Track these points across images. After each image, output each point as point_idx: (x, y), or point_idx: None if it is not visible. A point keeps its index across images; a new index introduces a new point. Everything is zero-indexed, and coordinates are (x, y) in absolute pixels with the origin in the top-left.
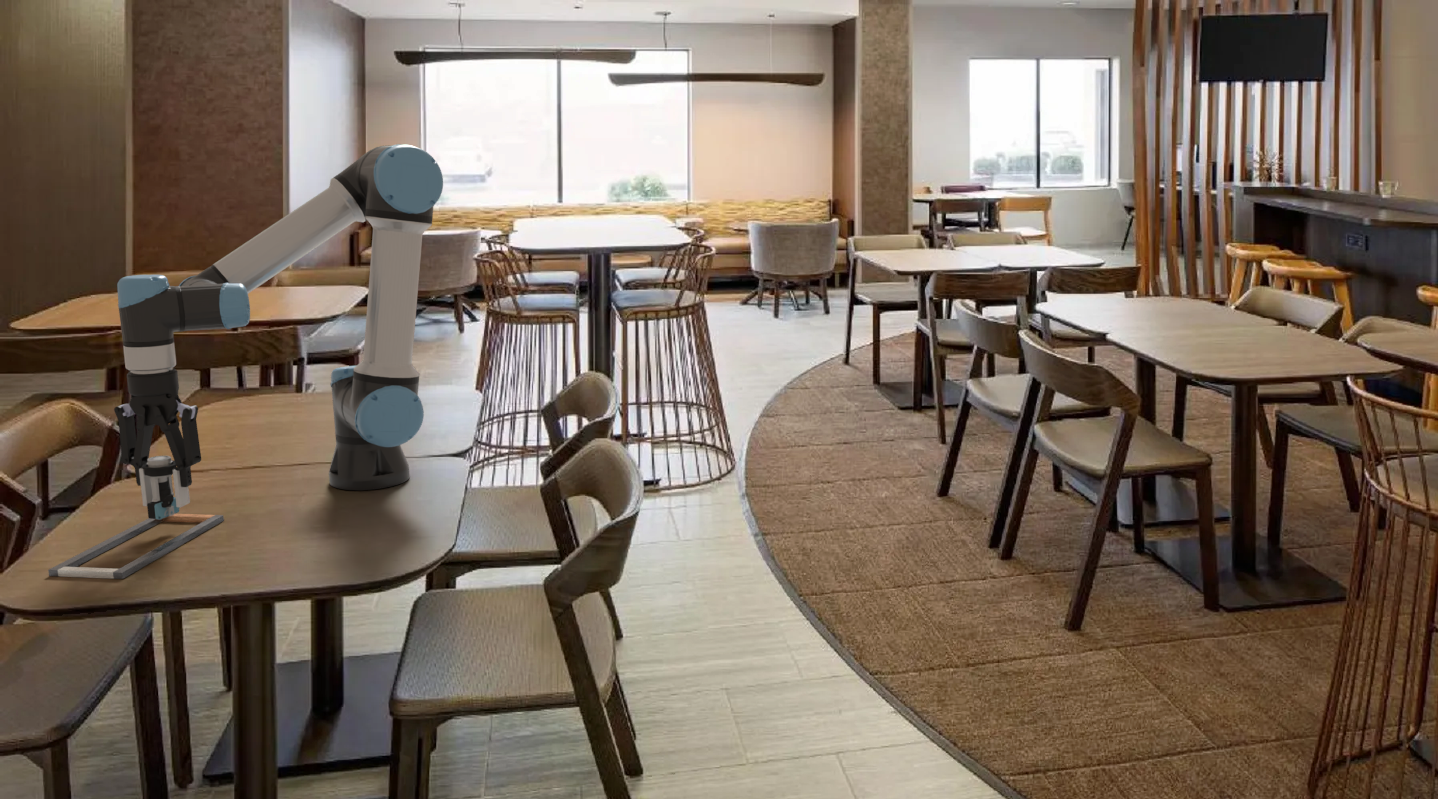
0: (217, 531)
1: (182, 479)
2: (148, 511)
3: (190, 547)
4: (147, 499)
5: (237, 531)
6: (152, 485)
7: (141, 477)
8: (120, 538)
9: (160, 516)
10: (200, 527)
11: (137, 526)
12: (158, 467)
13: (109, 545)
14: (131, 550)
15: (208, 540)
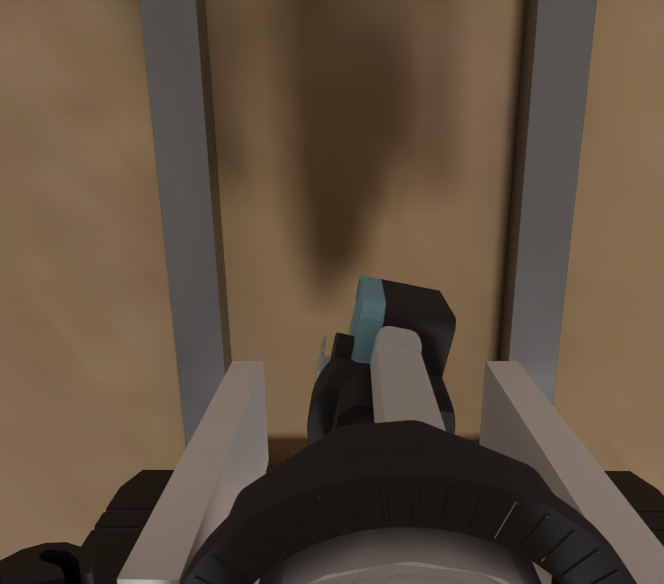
0: (130, 366)
1: (146, 521)
2: (439, 300)
3: (97, 119)
4: (498, 393)
5: (35, 376)
6: (423, 403)
7: (608, 503)
8: (525, 132)
9: (357, 296)
10: (182, 344)
11: (534, 323)
12: (306, 537)
13: (532, 23)
14: (388, 26)
15: (81, 236)
